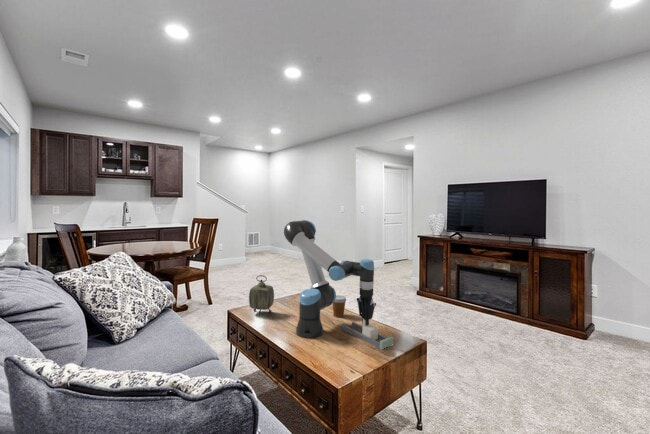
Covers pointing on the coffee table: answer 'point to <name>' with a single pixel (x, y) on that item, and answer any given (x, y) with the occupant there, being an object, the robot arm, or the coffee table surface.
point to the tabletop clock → (261, 296)
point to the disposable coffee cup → (339, 306)
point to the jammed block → (370, 332)
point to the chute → (383, 343)
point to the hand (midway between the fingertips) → (365, 330)
